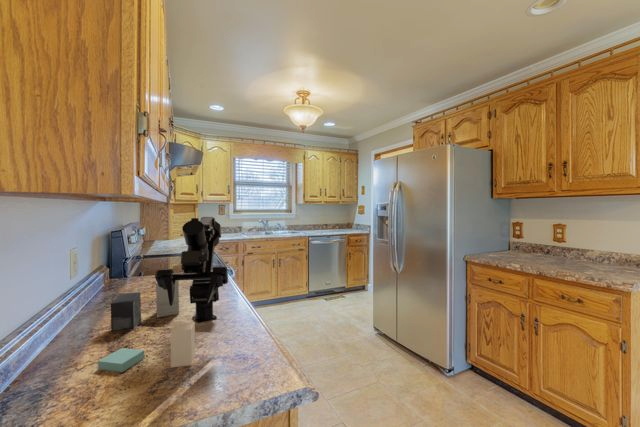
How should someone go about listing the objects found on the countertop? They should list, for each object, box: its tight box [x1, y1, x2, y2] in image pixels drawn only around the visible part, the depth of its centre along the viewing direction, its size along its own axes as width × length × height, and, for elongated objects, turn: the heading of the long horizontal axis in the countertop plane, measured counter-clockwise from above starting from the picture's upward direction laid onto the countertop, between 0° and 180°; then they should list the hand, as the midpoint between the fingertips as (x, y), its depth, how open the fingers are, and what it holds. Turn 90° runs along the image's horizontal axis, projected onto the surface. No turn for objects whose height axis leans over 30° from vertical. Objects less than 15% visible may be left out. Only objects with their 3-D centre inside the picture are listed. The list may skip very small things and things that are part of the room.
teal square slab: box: [97, 347, 145, 373], centre depth 71 cm, size 6×6×2 cm
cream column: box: [170, 321, 196, 368], centre depth 72 cm, size 4×4×10 cm
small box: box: [109, 291, 142, 332], centre depth 95 cm, size 11×6×10 cm, turn 21°
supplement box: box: [155, 280, 180, 318], centre depth 110 cm, size 7×7×13 cm
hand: (189, 303), depth 79 cm, fingers open, 9 cm apart
